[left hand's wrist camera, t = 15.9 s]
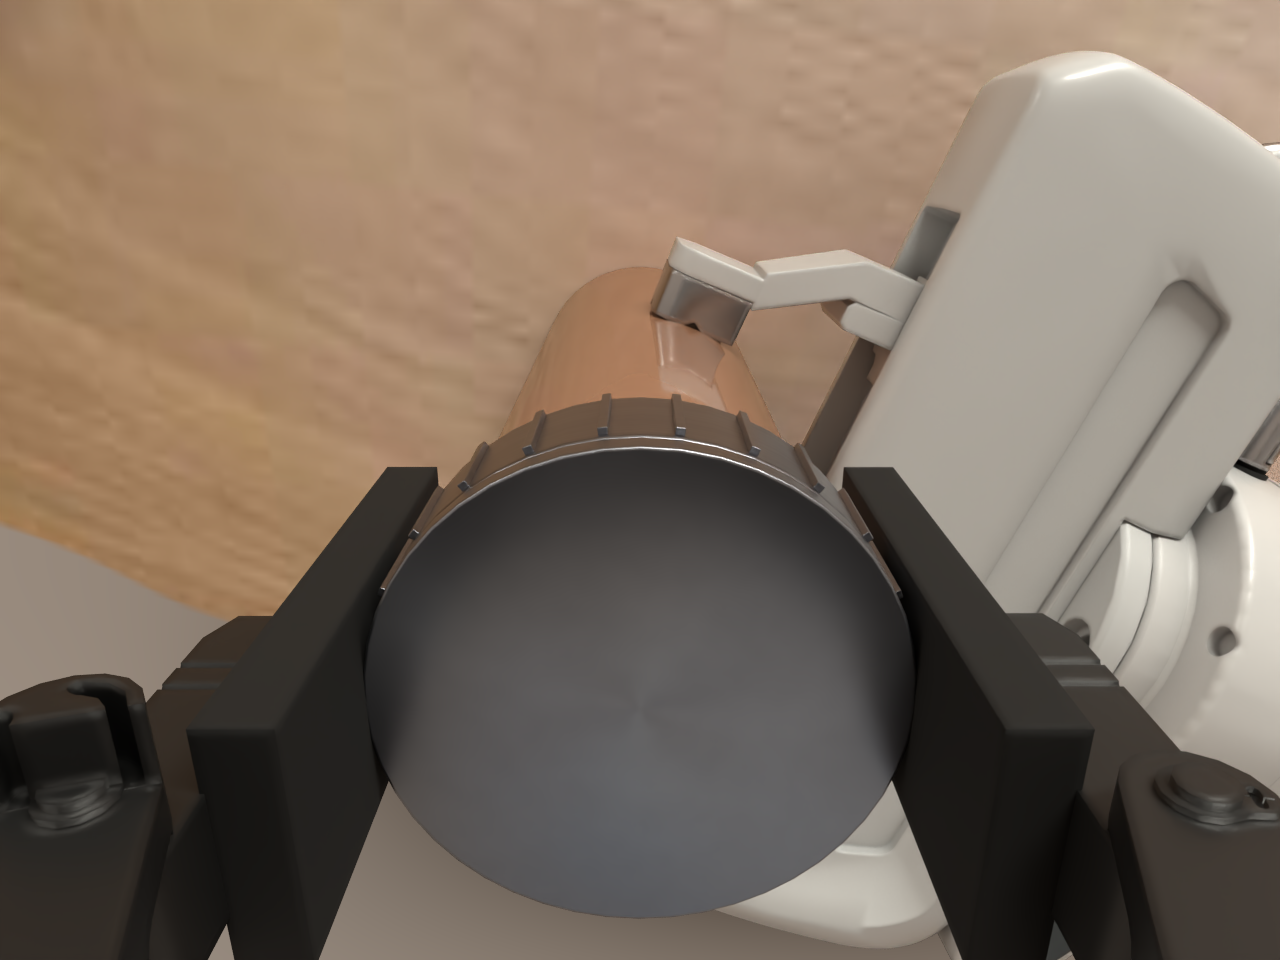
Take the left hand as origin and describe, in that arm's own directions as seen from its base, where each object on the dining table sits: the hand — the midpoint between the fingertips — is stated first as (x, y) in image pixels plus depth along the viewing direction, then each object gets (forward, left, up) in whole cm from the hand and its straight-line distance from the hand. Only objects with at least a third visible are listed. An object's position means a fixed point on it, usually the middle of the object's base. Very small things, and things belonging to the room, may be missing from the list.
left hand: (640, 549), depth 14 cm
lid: (0, 0, +4) cm, 4 cm away
